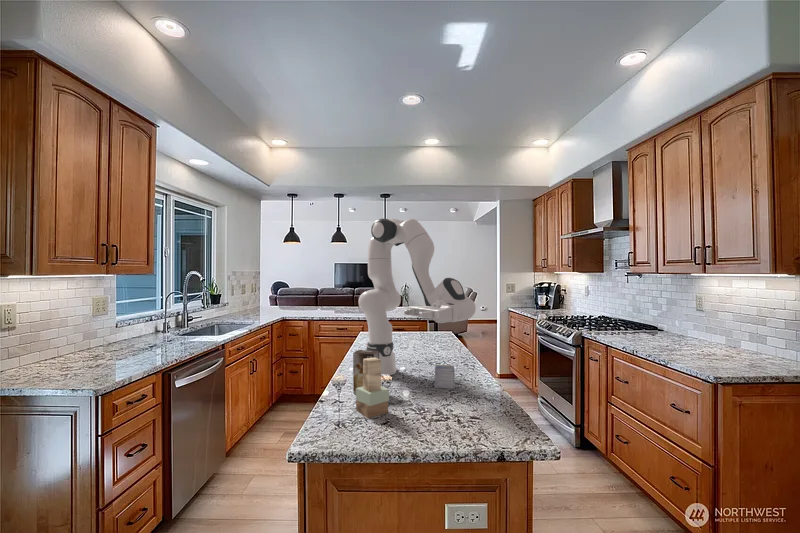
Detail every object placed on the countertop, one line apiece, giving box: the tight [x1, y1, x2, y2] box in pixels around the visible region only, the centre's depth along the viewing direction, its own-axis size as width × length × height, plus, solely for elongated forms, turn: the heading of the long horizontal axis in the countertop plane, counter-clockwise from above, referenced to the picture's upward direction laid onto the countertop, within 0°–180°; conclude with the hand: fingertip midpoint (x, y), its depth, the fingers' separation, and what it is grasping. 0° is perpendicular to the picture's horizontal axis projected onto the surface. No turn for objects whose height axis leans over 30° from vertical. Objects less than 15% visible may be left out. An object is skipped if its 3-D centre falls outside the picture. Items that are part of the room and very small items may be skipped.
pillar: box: [363, 357, 382, 392], centre depth 136 cm, size 4×4×10 cm
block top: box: [355, 385, 390, 406], centre depth 136 cm, size 8×8×4 cm
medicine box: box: [434, 364, 456, 390], centre depth 164 cm, size 8×4×9 cm, turn 82°
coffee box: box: [352, 349, 379, 395], centre depth 157 cm, size 9×6×16 cm
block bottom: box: [355, 399, 389, 419], centre depth 136 cm, size 8×8×4 cm
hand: (412, 313), depth 147 cm, fingers open, 8 cm apart
